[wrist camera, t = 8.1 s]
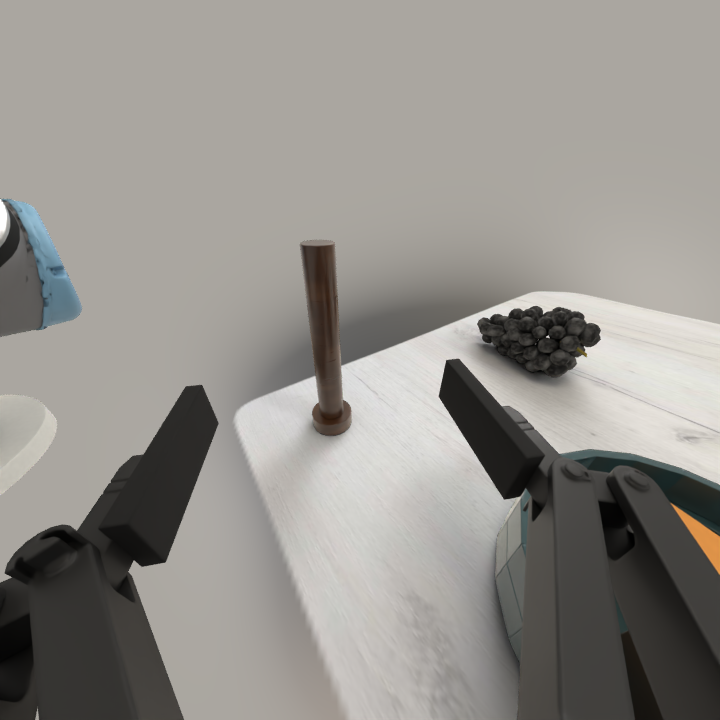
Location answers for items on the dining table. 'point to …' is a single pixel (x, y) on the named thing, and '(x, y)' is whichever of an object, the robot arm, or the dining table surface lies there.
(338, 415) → the stir stick
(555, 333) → the fruit
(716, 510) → the bowl
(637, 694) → the walnut block
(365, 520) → the dining table surface
